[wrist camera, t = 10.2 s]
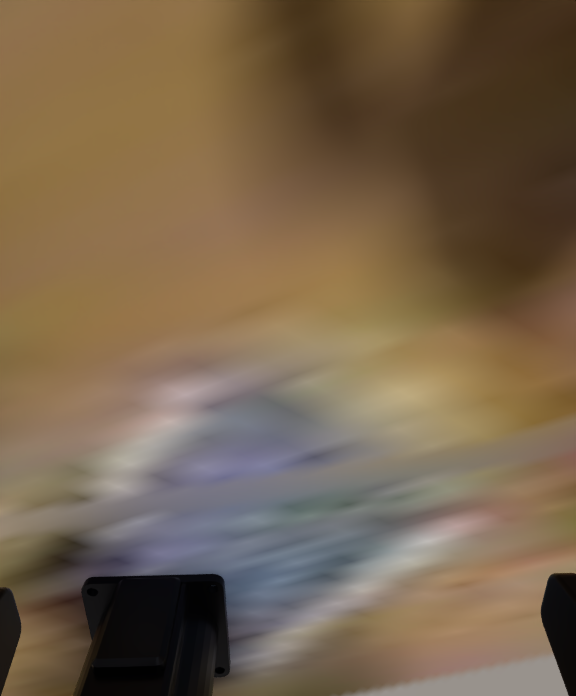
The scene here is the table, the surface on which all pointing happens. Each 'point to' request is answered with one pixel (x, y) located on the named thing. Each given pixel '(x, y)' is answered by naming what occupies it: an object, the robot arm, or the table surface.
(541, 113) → the table surface
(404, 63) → the table surface
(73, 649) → the table surface
